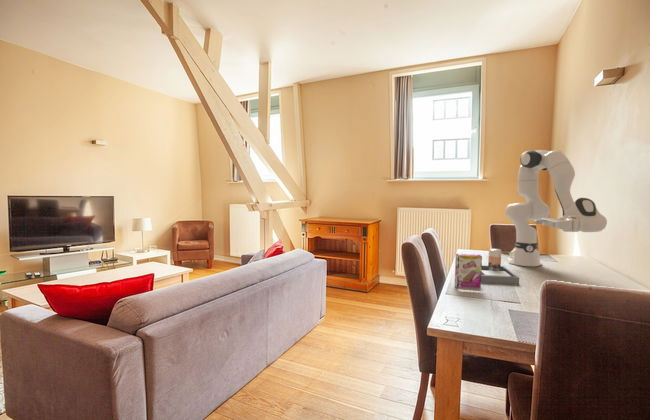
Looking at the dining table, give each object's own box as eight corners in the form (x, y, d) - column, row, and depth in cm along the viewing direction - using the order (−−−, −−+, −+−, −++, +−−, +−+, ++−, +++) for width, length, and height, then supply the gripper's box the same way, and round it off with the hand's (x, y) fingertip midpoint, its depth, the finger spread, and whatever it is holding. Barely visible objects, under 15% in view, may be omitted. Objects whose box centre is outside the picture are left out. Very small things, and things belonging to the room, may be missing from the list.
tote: (469, 272, 190) (469, 264, 190) (503, 274, 187) (503, 266, 186) (479, 284, 167) (479, 275, 167) (518, 286, 163) (519, 277, 163)
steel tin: (486, 273, 185) (487, 248, 184) (498, 273, 184) (499, 248, 183) (489, 276, 179) (490, 250, 178) (501, 276, 178) (503, 250, 177)
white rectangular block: (480, 276, 178) (480, 270, 178) (504, 277, 175) (504, 271, 175) (485, 281, 168) (485, 274, 168) (510, 283, 166) (511, 276, 165)
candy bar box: (457, 289, 160) (458, 255, 159) (454, 285, 165) (455, 253, 164) (481, 289, 159) (482, 255, 158) (477, 286, 164) (478, 253, 162)
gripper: (559, 215, 182) (531, 215, 185) (579, 219, 162) (547, 218, 165) (558, 227, 182) (530, 226, 185) (578, 231, 162) (547, 231, 165)
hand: (538, 222), depth 175 cm, fingers open, 8 cm apart
